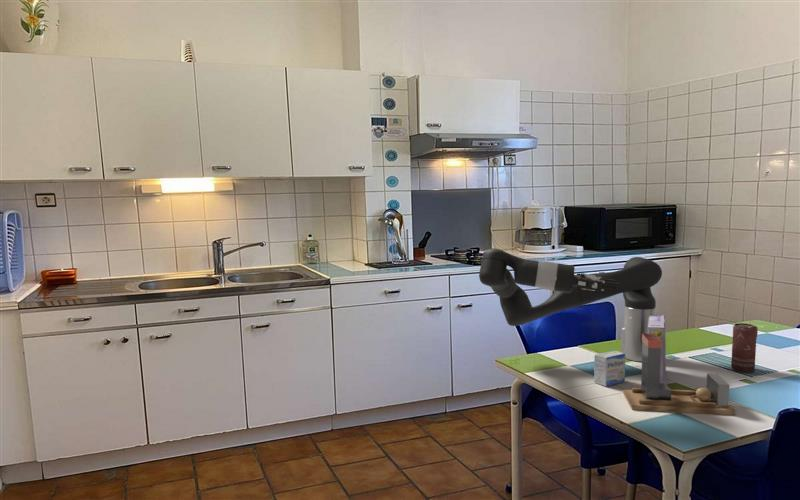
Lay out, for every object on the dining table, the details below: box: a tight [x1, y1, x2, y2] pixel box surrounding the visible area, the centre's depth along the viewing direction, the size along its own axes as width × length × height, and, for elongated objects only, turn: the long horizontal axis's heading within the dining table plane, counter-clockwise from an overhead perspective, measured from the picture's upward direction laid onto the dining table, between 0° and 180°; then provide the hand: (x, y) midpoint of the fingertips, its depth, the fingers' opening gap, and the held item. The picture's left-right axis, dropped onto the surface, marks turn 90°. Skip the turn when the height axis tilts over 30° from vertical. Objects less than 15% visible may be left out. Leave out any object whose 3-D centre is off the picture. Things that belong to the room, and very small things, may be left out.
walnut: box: [695, 386, 711, 401], centre depth 143 cm, size 4×4×4 cm
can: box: [730, 322, 759, 374], centre depth 168 cm, size 6×6×14 cm
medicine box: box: [593, 350, 626, 388], centre depth 160 cm, size 8×4×9 cm, turn 117°
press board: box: [622, 387, 736, 416], centre depth 144 cm, size 24×11×2 cm, turn 79°
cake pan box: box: [648, 314, 667, 383], centre depth 163 cm, size 19×5×18 cm, turn 155°
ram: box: [640, 333, 672, 401], centre depth 144 cm, size 6×6×16 cm
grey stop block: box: [706, 373, 730, 408], centre depth 142 cm, size 2×8×6 cm, turn 169°
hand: (618, 286), depth 144 cm, fingers open, 8 cm apart
